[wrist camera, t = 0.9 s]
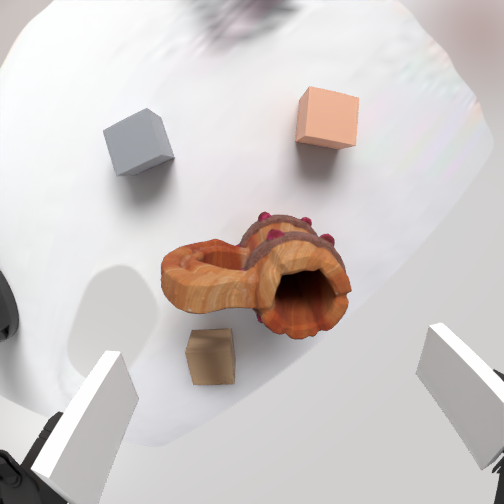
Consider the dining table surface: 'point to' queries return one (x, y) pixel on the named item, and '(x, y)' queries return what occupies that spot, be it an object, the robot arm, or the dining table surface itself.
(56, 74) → the dining table surface
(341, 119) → the terracotta block
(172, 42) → the dining table surface
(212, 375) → the walnut block
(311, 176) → the dining table surface
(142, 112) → the slate block
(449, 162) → the dining table surface
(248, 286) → the mug
